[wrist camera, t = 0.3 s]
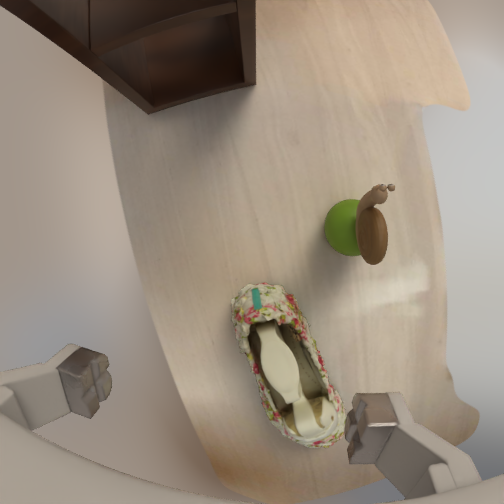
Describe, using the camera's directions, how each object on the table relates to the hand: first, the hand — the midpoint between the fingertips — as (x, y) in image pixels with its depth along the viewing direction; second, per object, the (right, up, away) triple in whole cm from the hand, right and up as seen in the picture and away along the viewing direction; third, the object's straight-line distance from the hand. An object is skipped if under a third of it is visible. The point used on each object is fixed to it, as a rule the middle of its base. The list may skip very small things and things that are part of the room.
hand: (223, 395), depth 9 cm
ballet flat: (+5, -10, +25) cm, 28 cm away
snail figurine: (+10, +8, +23) cm, 26 cm away
